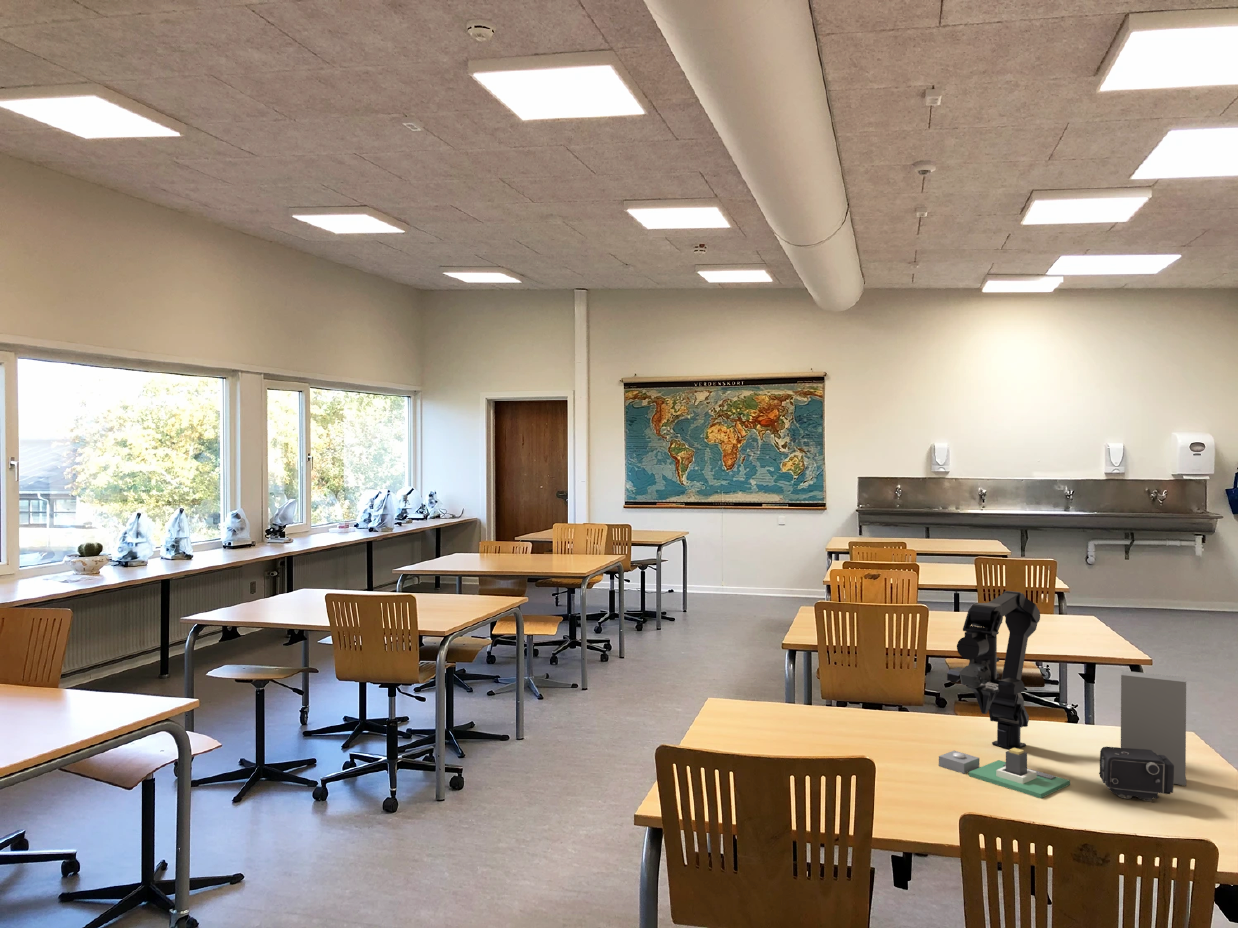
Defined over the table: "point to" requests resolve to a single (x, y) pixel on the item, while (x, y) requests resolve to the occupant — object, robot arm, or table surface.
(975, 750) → the table surface
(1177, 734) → the upright grey panel
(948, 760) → the grey push button
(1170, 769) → the camera
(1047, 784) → the board
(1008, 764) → the plug
